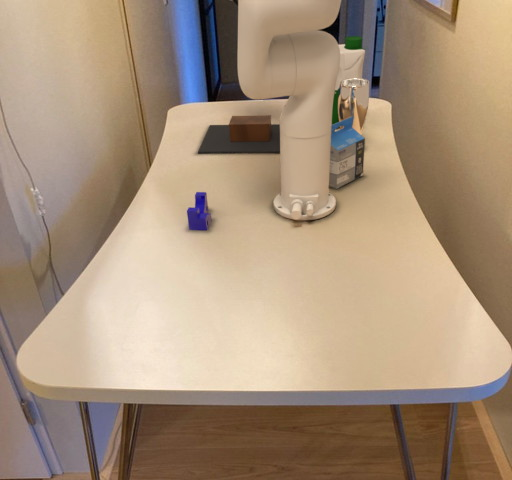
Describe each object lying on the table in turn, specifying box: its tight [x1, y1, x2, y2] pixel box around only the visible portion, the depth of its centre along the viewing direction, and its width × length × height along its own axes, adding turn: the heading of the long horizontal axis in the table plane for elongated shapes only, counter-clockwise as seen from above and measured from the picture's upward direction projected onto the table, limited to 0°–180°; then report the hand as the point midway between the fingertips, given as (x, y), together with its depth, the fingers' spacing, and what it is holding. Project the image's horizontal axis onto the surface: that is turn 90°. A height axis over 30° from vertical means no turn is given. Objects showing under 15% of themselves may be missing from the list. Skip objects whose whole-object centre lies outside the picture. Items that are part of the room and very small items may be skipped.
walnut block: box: [228, 114, 272, 142], centre depth 138 cm, size 6×4×10 cm
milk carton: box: [332, 35, 366, 129], centre depth 139 cm, size 9×9×20 cm
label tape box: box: [329, 116, 366, 190], centre depth 116 cm, size 9×4×12 cm, turn 132°
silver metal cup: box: [338, 77, 370, 137], centre depth 128 cm, size 7×7×15 cm
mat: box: [197, 123, 280, 155], centre depth 140 cm, size 18×22×1 cm
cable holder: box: [186, 191, 212, 231], centre depth 108 cm, size 8×4×4 cm, turn 171°
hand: (248, 28), depth 124 cm, fingers closed
